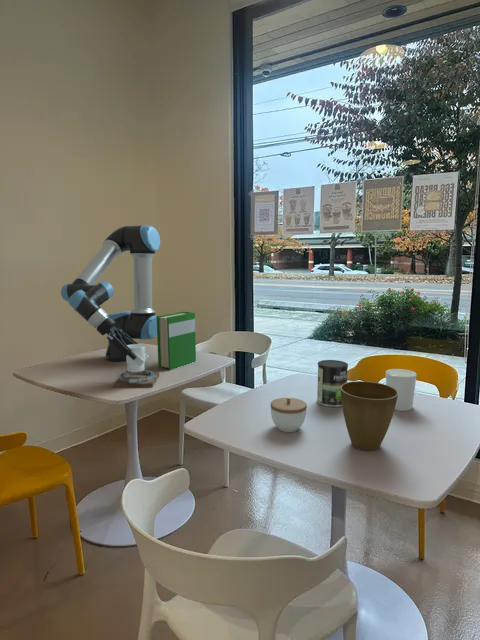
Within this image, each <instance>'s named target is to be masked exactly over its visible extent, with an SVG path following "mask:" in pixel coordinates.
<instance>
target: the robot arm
mask: <svg viewBox="0 0 480 640" xmlns="http://www.w3.org/2000/svg"><path fill="white" fill-rule="evenodd" d="M160 246H161V238H160V234H159V232H158V230H157V229H156V228H155V227H154V226H152V225H144V224H143V225H142V224H141V225H124V226H121V227H119V228H117V229H116V230H114V231H113V232H111V234H109V235H108V236H107V237H106V239H104V240H103V241H102V246H101V248H100V249H99V250H98V251H97V253H96V254H95V255H94V256H93V257H92V259H91V260H90V261H89V262H88V263H87V265H86V266H85V267H84V268H83V269H82V271H81V272H80V273H79V274H78V276H77V277H76V278H75V279H74V280H73V281H72V283H66V284H63V285H62V287H61V290H60V295H61V298H62V299H63V300H64V301H65V302H67V304H69V306H71V308H72V309H73V310H74V311H75V312H77V314H78V315H80V316H81V318H83V319H84V320H86V322H88V323H89V326H92V327H93V329H96V331H97V332H98V333H99V334H100V335H101V336H105V335H107V336H106V339H107V340H108V342H107V343H108V345H107V348H106V351H105V360H106V361H110V362H127V361H126V356H127V355H128V356H129V357H130V358H131V359H132V360H133V361H134V362H135V363H136V364H137V365H138V366H139V367H140V366H141V365H142V364H143V363H144V362H145V363H146V360H147V359H148V358H149V357H150V356H149V355H148V354H147V353H146V352H145V361H144V360H143V359H141V358H140V357H139V356H138V355H137V354H136V353H135V352H134V351H133V350H132V351H131V349H130V348H129V347H128V346H127V345H131V344H139V343H138V342H137V341H136V340H143V341H147V340H148V341H149V340H150V341H151V340H154V339H155V338H157V316H158V315H156V311H155V310H154V309H153V258H154V257H155V255H156V251H158V250H159V248H160ZM127 251H129V255H130V256H131V257H132V258H133V309H132V310H131V311H130V310H127V311H125V310H124V311H118V312H112V313H110V314H109V313H107V312H106V311H105V310H104V309H103V308H102V307H101V306H102V305H103V304H104V303H105V302H106V301H109V300H110V298H111V297H112V296H113V295H114V292H115V290H114V288H113V286H112V285H111V283H110V282H107V281H104V280H103V281H101V282H98V280H99V279H100V278H101V277H102V275H103V274H104V273H105V272H106V270H107V269H108V267H110V265H111V264H112V262H114V260H115V259H116V257H117V258H118V257H120V256H121V255H122V253H124V252H127ZM97 282H98V283H97ZM135 339H136V340H135Z"/></svg>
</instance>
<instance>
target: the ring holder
mask: <svg viewBox="0 0 480 640" xmlns="http://www.w3.org/2000/svg"><path fill="white" fill-rule="evenodd" d="M159 378H160V372H154V371H153V370H147V369H144V370H143V371H141V372H129V371H128V370H127V371H125V372H121V374H120V375H119V378H118V379H117V380H116V381H115V382H114V383H113V388H153V387H154V386H155V383H156V382H157V380H158V379H159Z"/></svg>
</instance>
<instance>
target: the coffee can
mask: <svg viewBox="0 0 480 640" xmlns="http://www.w3.org/2000/svg"><path fill="white" fill-rule="evenodd" d="M348 367H349V364H348V362H345V361H342V360H338V359H324V360H323V359H322V360H320V361H318V362H317V390H316V391H317V395H316V396H317V398H316V399H317V400H316V402H317V404H319V405H321V406H323V407H329V408H340V407H342V400H341V389H340V387H341V385H342V384H344V383H347V382H348Z"/></svg>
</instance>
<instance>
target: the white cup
mask: <svg viewBox="0 0 480 640" xmlns="http://www.w3.org/2000/svg"><path fill="white" fill-rule="evenodd" d="M127 346H128V347H129V348H130V349H131V351H132V350H133V351H134V352H135V353H136V354H137V355H138V356H139V357H140V358H141V359H143V360H144V361H145V362H144V363H143V364H142V365H141V366H140V367H139V366H138V365H137V364H136V363H135V362H134V361H133V360H132V359H131V358H130V357H129V356H128V355H127V356H126V361H125V362H126V368H127V372H128V371H129V372H141V371H143V370H146V367H145V366H146V360H145V353H146V345H145V344H143V343H142V344H141V343H138V344H131V345H127Z"/></svg>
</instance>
